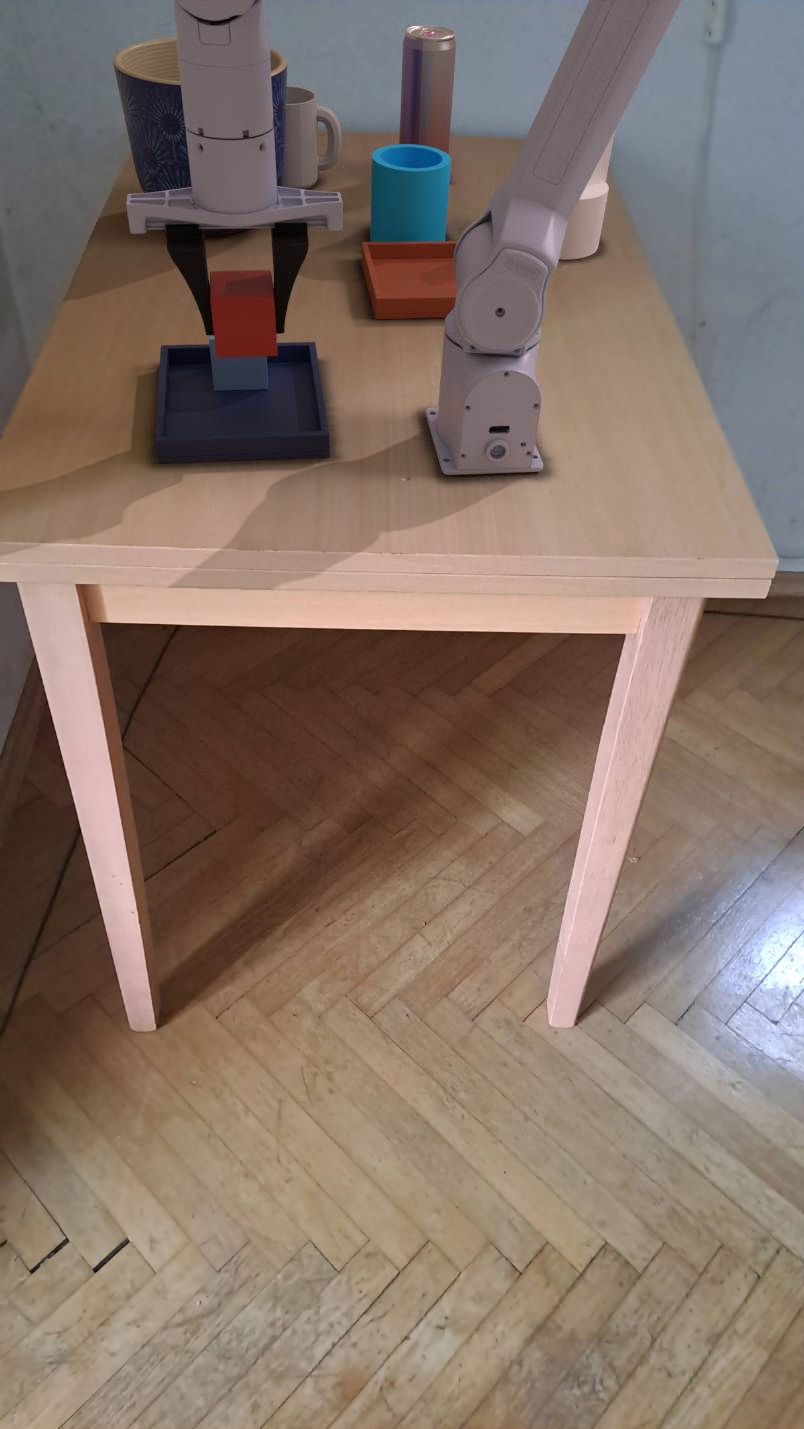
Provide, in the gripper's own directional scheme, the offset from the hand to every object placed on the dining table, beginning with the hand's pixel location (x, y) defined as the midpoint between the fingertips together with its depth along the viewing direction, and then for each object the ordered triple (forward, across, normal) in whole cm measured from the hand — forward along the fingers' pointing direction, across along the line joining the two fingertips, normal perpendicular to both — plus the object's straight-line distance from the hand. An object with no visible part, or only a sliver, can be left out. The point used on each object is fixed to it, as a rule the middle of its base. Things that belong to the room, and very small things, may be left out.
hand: (245, 328), depth 74 cm
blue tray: (+8, +1, -3) cm, 9 cm away
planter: (+8, +3, -43) cm, 44 cm away
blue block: (+8, +1, -7) cm, 10 cm away
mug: (+8, -18, -39) cm, 44 cm away
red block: (+1, 0, 0) cm, 1 cm away
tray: (+8, -18, -25) cm, 32 cm away
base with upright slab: (+8, -34, -36) cm, 50 cm away
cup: (+8, -8, -55) cm, 56 cm away
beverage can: (+8, -22, -56) cm, 61 cm away
